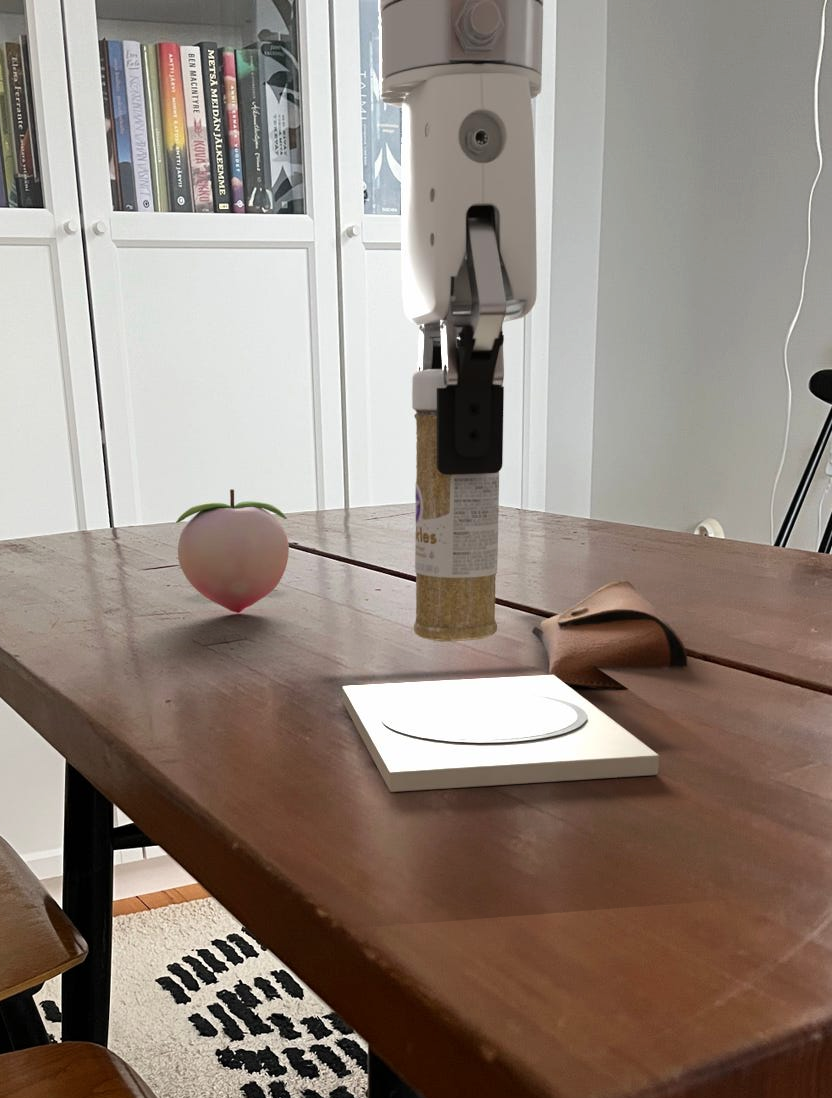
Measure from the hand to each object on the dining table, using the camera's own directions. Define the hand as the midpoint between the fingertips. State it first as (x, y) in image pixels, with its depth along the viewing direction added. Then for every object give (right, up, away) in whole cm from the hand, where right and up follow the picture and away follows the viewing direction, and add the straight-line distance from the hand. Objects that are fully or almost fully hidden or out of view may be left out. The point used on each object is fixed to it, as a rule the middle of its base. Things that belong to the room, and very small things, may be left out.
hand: (458, 465), depth 65 cm
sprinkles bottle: (0, -8, +3) cm, 9 cm away
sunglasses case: (+11, -7, +20) cm, 24 cm away
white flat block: (+2, -14, +3) cm, 14 cm away
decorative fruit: (-15, 0, +41) cm, 44 cm away
